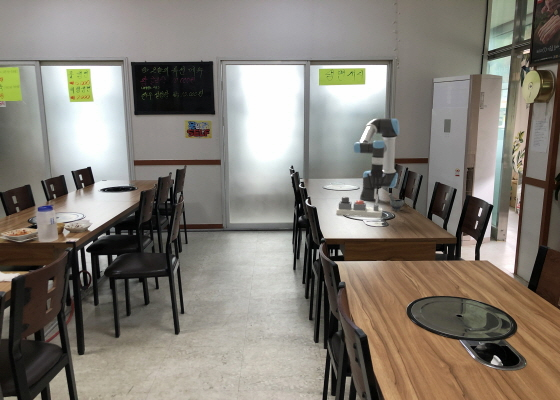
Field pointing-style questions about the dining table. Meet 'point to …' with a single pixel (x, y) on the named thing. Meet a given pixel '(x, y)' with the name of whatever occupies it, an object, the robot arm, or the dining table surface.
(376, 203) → the lever
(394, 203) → the mortar and pestle
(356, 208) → the console
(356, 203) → the button red
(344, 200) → the button black
